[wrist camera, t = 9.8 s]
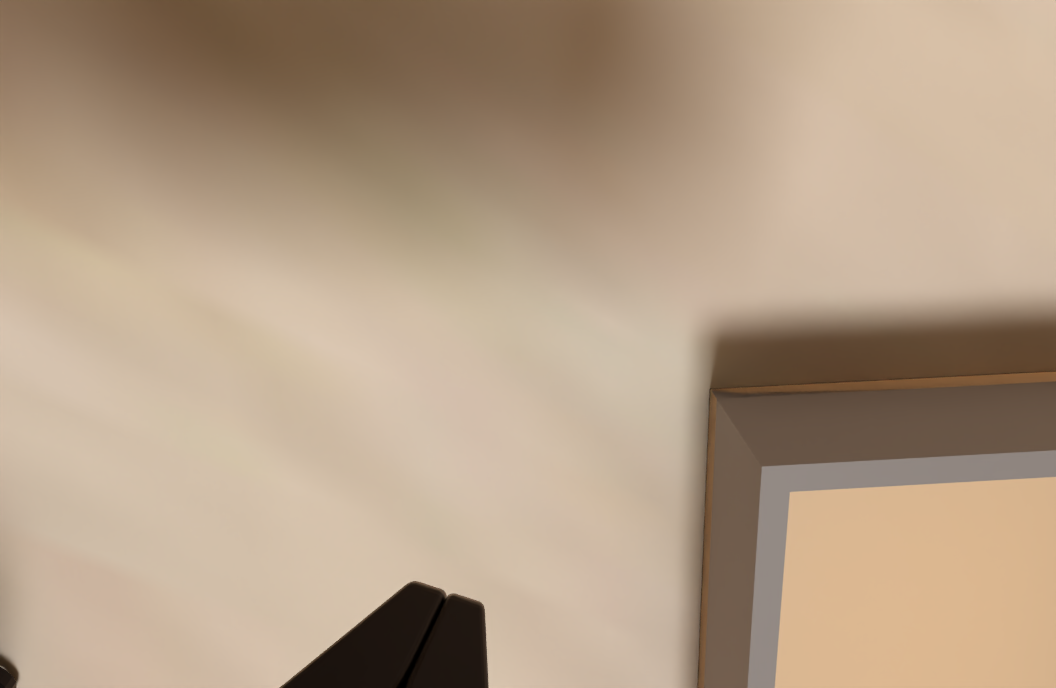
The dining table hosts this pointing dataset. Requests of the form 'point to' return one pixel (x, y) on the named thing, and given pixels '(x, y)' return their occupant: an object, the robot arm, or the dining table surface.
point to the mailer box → (881, 535)
